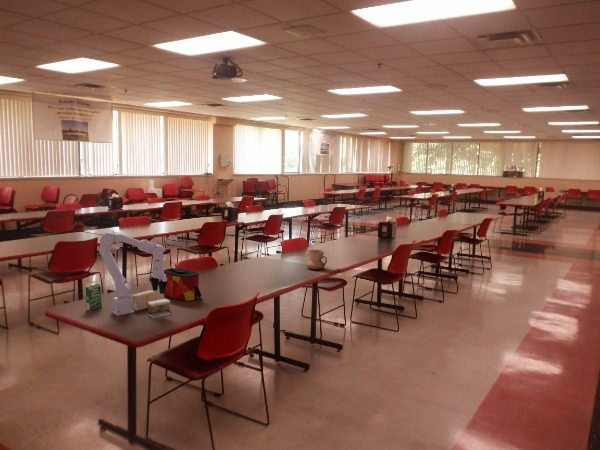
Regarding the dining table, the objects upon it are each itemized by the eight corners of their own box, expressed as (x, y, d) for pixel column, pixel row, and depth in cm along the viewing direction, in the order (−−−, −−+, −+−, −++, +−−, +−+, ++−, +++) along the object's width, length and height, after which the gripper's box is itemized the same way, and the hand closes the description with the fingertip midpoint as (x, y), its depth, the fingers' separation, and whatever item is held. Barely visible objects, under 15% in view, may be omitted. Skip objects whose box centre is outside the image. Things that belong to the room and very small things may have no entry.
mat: (154, 318, 243) (154, 318, 243) (147, 315, 248) (147, 314, 248) (171, 314, 250) (171, 314, 250) (165, 311, 255) (165, 310, 255)
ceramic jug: (301, 269, 365) (301, 250, 363) (310, 265, 377) (311, 248, 375) (321, 272, 356) (322, 254, 353) (330, 269, 368) (331, 251, 366)
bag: (155, 294, 287) (154, 268, 285) (172, 290, 298) (172, 264, 296) (189, 303, 270) (189, 275, 268) (207, 298, 282) (206, 271, 280)
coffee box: (89, 311, 253) (88, 287, 251) (85, 310, 254) (84, 286, 252) (102, 307, 260) (101, 284, 258) (98, 306, 261) (97, 283, 259)
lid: (151, 306, 250) (151, 304, 250) (147, 304, 254) (147, 302, 253) (170, 302, 257) (170, 300, 257) (165, 300, 261) (165, 298, 261)
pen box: (152, 313, 251) (152, 306, 250) (148, 311, 254) (148, 304, 253) (169, 309, 258) (169, 302, 257) (165, 308, 261) (165, 301, 260)
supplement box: (151, 289, 267) (131, 294, 257) (156, 291, 265) (136, 295, 254) (151, 303, 268) (131, 309, 258) (156, 305, 266) (136, 310, 255)
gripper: (171, 268, 250) (172, 293, 252) (158, 264, 261) (159, 288, 262) (159, 270, 245) (159, 295, 247) (146, 265, 256) (147, 290, 258)
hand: (158, 292), depth 254 cm, fingers open, 7 cm apart
